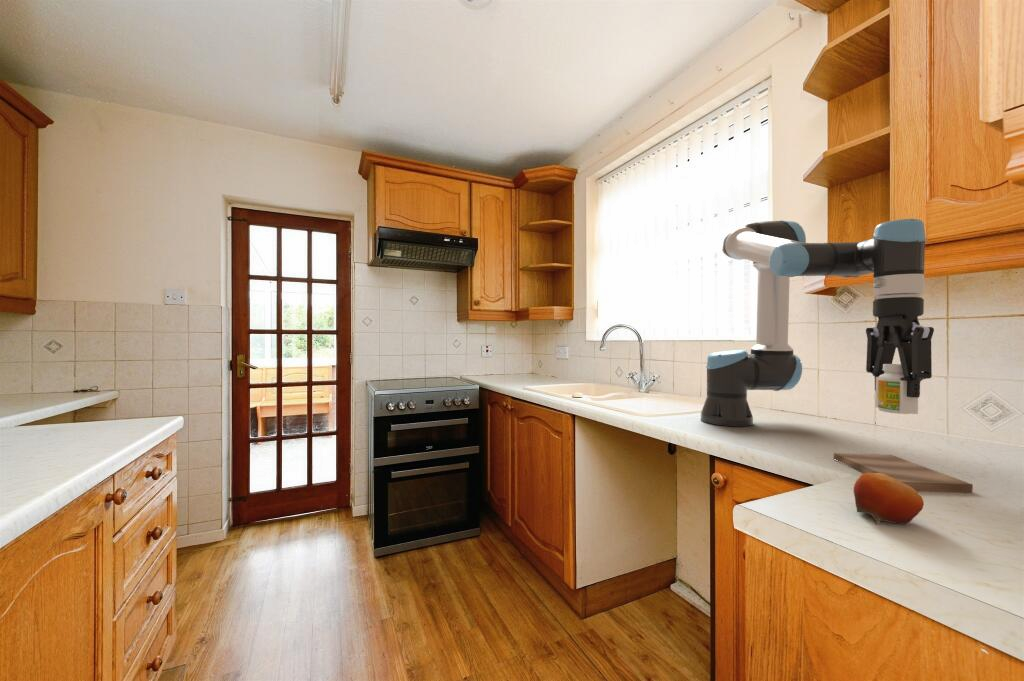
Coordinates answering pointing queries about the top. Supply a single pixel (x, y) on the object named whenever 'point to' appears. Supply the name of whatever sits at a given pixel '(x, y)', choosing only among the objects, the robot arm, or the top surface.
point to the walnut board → (904, 472)
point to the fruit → (886, 498)
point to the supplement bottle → (890, 388)
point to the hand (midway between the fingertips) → (895, 410)
